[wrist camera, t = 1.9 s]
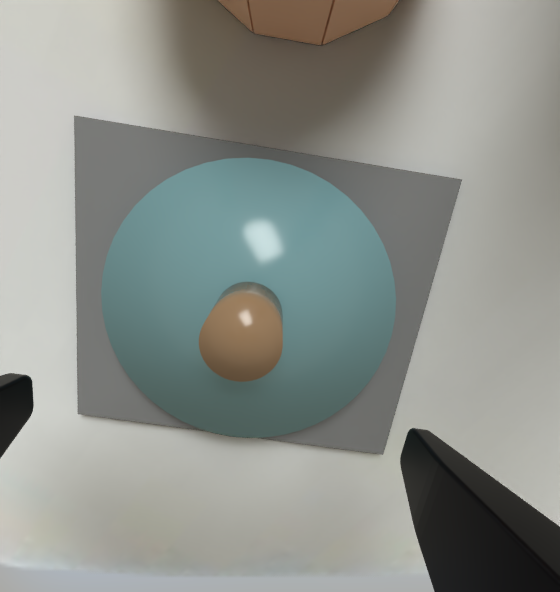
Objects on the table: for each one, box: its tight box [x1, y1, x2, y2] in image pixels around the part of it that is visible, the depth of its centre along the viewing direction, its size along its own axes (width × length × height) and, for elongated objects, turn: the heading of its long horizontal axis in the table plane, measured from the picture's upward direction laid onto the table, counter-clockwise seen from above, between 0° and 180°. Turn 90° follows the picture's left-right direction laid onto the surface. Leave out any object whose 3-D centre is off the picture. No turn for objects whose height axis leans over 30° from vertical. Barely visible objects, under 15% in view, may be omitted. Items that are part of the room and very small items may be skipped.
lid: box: [101, 158, 396, 438], centre depth 15 cm, size 13×13×4 cm
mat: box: [74, 116, 462, 455], centre depth 17 cm, size 16×14×1 cm
